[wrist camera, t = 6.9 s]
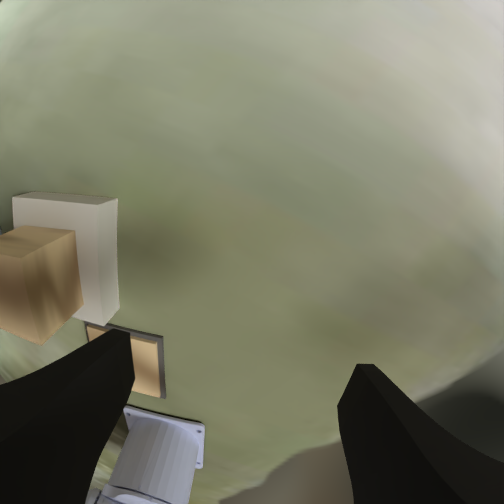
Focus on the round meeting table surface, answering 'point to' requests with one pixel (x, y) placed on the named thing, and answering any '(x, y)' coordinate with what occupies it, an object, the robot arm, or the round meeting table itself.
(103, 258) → the base block
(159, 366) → the tile
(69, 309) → the maple cube
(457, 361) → the round meeting table surface
